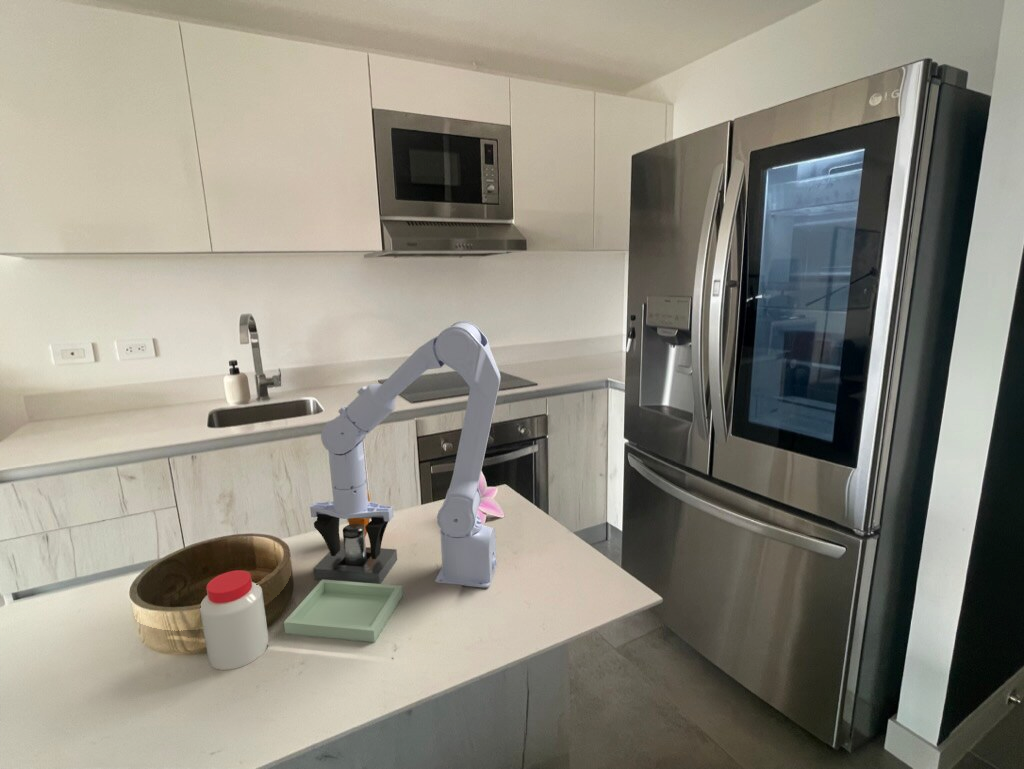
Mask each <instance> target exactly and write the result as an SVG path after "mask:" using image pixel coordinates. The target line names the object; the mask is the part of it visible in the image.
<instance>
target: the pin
mask: <svg viewBox="0 0 1024 769" xmlns="http://www.w3.org/2000/svg"><path fill="white" fill-rule="evenodd" d="M342 536H343V546H344V549H345V560H346V566H359V567H363V566H364V564H365V563H366V562H367V556H366V547H367V546H366V536H365V533H364V526H363V525H362V524H350V525H349V524H347V525H346V526H343V527H342Z"/></svg>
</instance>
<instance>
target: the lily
mask: <svg viewBox="0 0 1024 769" xmlns="http://www.w3.org/2000/svg"><path fill="white" fill-rule="evenodd" d="M479 491H480V494H481V503H480V505H479V507H478V511H477V514H478V516H479V518H480V520H481V521H482V524H483V525H485V524H486V520H487V515H491V516H493V517H494V516H495V517H498V518H502V519H503V518H504V517H505V514H504V511H503V510H502V508H501V506H500V505H499V503H498V502H497V501H496V500H495V496H496V495H497V493H498V491H499V488H498V487H496V486H488V485H487V481H486V477H485V475H484V473H483V470H481V474H480V482H479Z"/></svg>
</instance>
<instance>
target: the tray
mask: <svg viewBox="0 0 1024 769" xmlns="http://www.w3.org/2000/svg"><path fill="white" fill-rule="evenodd" d="M402 598H403V586H402V585H395V584H384V583H381V584H373V583H361V582H349V581H336V580H324V579H322V580H319V581H318V583H317V585H315V586H314V587H313V589H312V590H311V591H310V593H308V595H307V596H306V597H305V598H304V599H303V600H302V601H301V602H300V604H298V606H296V608H295V609H294V610H293V611H292V612H291V613H290V614H289V615H288V617H287V618H286V619H285V620H284V622H283V626H284V634H285V635H291V636H292V635H295V636H303V637H314V638H324V639H325V638H326V639H333V640H334V639H335V640H343V641H345V640H346V641H353V642H354V641H355V642H361V643H362V642H363V643H365V642H366V643H374V644H375V643H376V642H377V640H378V638H379V637H380V635H381V633H382V632H383V629H384V628H385V626H386V625H387V623H388V621H389V620H390V618H391V616H392V615H393V613H394V611H395V610H396V608H397V606H398V605H399V603H400V601H401V600H402Z"/></svg>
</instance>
